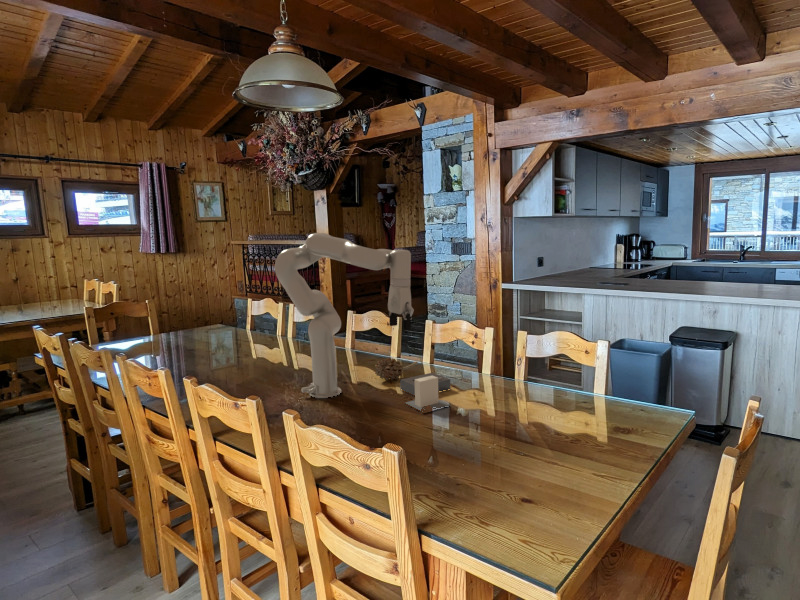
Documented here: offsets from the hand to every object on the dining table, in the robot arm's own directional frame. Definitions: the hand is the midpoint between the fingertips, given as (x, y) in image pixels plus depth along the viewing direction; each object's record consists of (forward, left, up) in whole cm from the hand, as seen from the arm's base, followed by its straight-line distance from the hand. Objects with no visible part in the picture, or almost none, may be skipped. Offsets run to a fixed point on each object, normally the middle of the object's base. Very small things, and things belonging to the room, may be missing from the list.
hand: (399, 327), depth 190 cm
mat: (+2, -14, -27) cm, 31 cm away
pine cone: (+12, +22, -27) cm, 37 cm away
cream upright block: (+2, -14, -26) cm, 30 cm away
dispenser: (+12, +1, -27) cm, 30 cm away
